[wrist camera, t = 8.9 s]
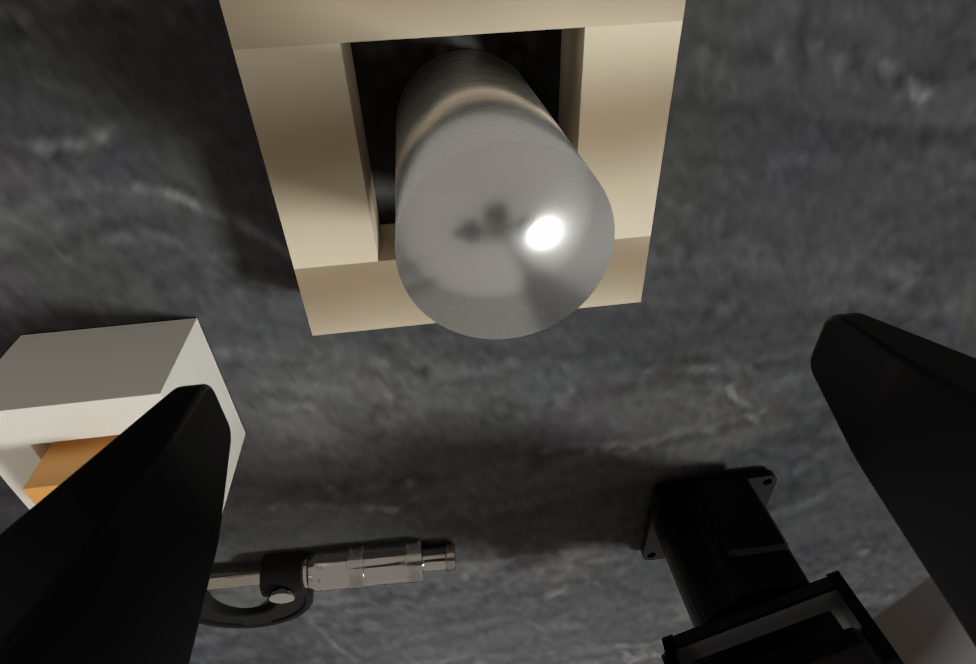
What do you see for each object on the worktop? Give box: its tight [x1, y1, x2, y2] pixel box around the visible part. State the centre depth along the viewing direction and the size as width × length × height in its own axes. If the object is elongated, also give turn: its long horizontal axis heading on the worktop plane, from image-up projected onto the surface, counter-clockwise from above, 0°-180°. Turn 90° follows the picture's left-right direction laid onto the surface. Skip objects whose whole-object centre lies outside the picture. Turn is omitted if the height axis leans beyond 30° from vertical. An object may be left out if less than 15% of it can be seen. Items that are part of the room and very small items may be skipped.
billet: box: [395, 50, 615, 339], centre depth 15 cm, size 4×4×8 cm
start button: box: [23, 435, 118, 505], centre depth 19 cm, size 2×2×3 cm
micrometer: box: [199, 540, 456, 628], centre depth 31 cm, size 15×7×2 cm, turn 89°
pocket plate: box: [219, 0, 686, 336], centre depth 17 cm, size 11×11×2 cm
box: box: [0, 318, 246, 513], centre depth 21 cm, size 6×6×4 cm
